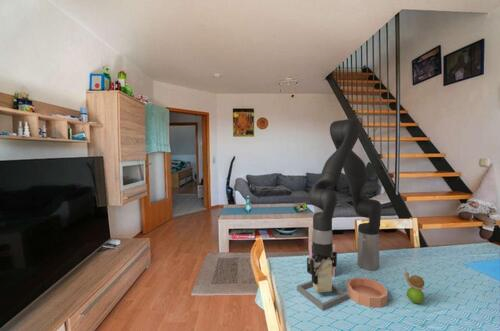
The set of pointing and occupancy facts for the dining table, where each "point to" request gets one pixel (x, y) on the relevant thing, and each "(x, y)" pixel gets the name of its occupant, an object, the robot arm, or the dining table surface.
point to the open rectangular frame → (318, 303)
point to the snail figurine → (415, 288)
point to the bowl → (367, 292)
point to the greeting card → (313, 254)
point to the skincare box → (324, 277)
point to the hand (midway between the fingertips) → (322, 280)
